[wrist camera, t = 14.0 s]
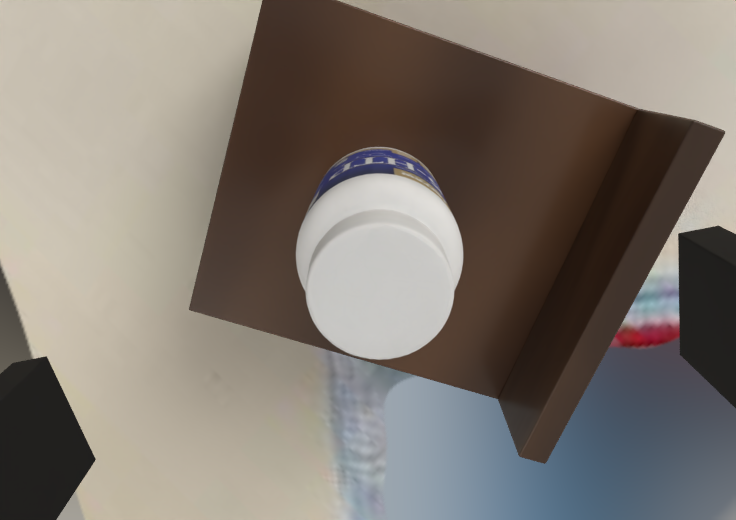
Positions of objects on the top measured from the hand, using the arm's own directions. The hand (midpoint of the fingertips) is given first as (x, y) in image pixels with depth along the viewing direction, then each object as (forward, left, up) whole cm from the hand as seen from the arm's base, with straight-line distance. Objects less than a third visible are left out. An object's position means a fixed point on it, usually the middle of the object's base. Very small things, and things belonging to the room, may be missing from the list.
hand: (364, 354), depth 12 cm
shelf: (+2, 0, -20) cm, 20 cm away
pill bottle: (0, 0, -12) cm, 12 cm away
